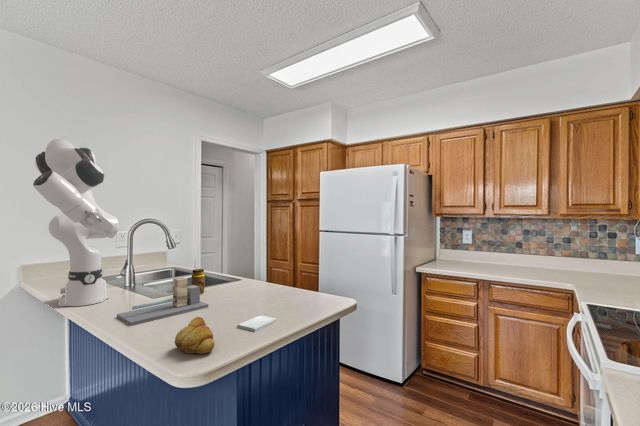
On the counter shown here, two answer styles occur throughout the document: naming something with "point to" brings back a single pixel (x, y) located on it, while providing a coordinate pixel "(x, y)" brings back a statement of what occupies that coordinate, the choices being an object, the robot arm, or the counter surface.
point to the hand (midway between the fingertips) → (112, 236)
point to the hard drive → (256, 323)
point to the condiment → (198, 279)
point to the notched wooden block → (180, 291)
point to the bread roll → (195, 337)
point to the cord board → (163, 308)
